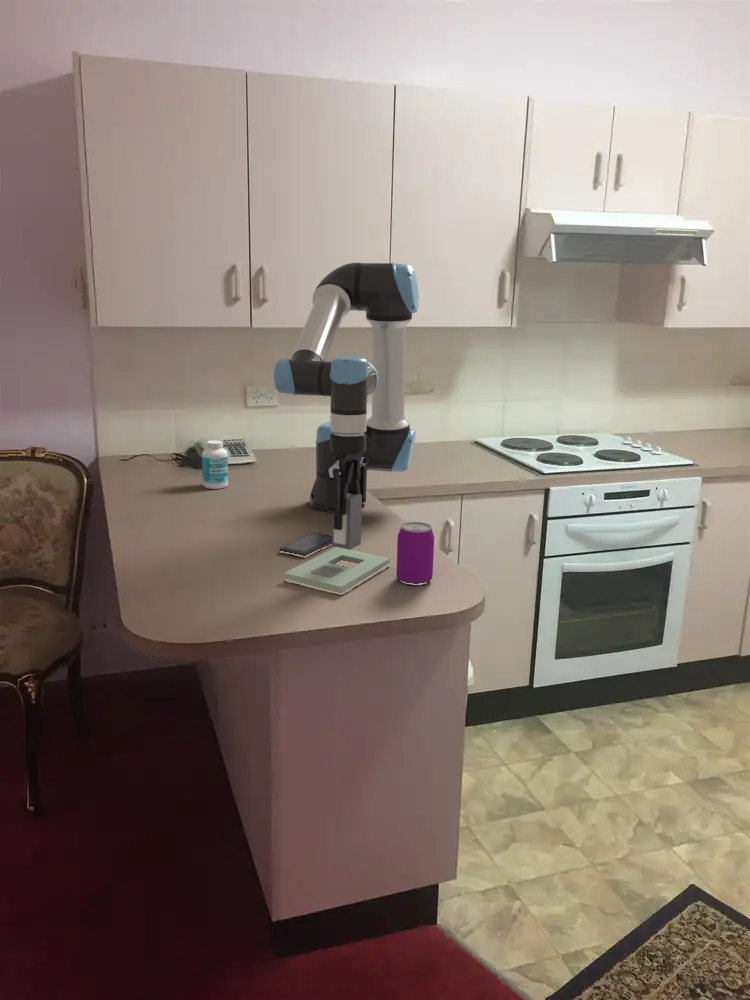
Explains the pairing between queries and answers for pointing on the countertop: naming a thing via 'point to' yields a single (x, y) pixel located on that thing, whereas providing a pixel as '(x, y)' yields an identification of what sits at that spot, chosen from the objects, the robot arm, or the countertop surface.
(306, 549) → the phone
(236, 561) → the countertop surface
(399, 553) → the beverage can
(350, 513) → the brick
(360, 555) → the outlet plate
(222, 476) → the pill bottle
